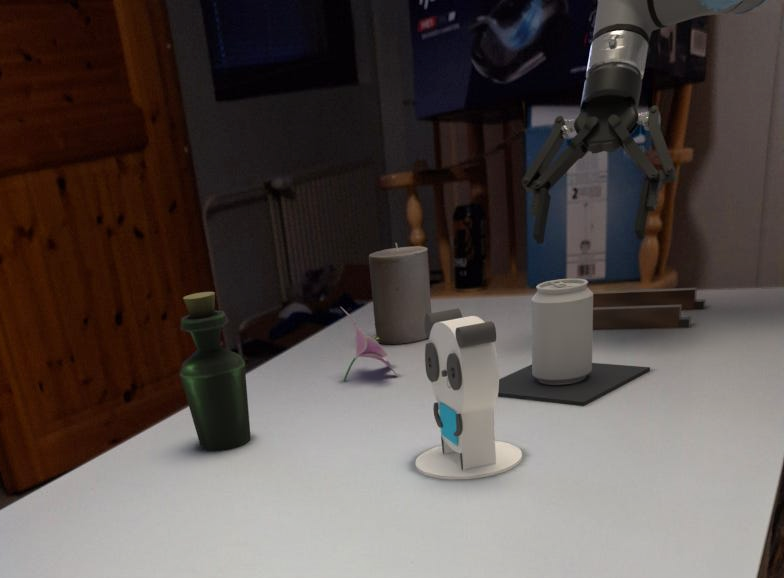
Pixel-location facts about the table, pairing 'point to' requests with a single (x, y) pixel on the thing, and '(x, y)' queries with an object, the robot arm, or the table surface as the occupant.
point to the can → (562, 331)
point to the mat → (576, 393)
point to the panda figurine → (464, 399)
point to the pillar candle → (400, 293)
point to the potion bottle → (214, 378)
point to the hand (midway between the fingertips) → (587, 237)
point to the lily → (367, 347)
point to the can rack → (644, 308)
